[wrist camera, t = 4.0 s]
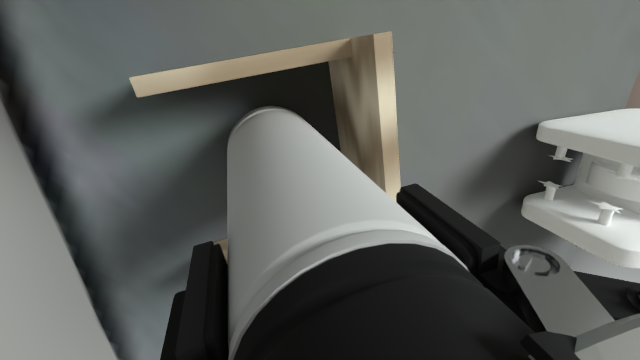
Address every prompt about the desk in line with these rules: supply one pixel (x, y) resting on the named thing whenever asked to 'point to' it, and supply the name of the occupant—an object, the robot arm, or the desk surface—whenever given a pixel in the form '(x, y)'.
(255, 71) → the desk dock
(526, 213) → the cable organizer
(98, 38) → the desk surface
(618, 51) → the desk surface
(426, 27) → the desk surface
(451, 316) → the travel mug
